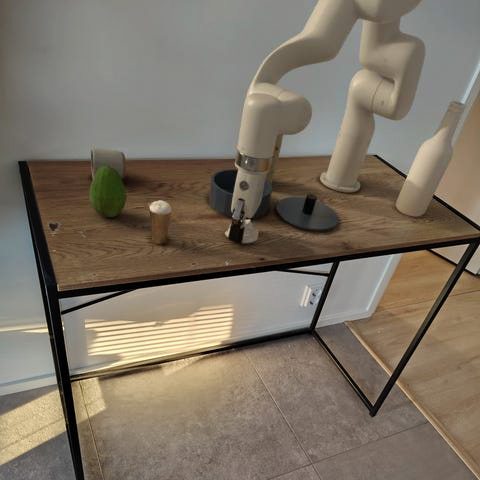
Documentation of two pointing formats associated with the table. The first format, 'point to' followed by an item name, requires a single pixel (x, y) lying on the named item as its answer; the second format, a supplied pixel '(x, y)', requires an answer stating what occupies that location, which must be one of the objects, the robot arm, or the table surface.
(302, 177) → the table surface
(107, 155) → the ceramic mug
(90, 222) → the table surface
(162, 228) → the milkshake
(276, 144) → the food model
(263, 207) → the pot
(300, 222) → the pot lid
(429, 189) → the alcohol
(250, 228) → the whipped cream
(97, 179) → the avocado
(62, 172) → the table surface
